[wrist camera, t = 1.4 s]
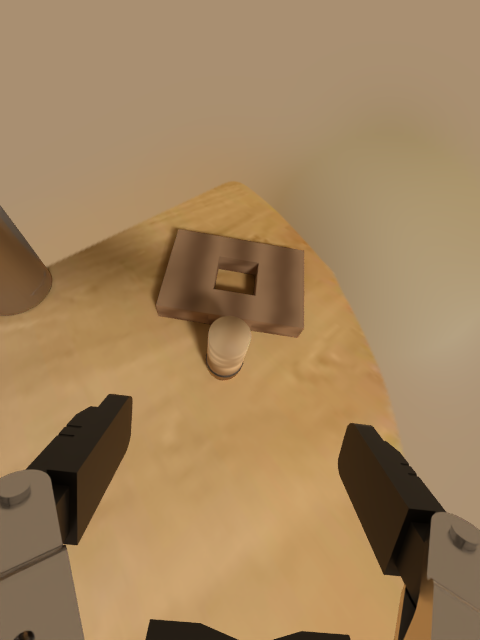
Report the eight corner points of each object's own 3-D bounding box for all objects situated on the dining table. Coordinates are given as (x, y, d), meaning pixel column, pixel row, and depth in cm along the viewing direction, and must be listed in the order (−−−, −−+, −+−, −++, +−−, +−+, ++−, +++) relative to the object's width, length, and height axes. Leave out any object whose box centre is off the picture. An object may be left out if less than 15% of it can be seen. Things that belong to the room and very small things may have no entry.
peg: (202, 381, 37) (203, 352, 28) (208, 348, 39) (211, 311, 30) (238, 386, 37) (250, 359, 28) (242, 353, 39) (254, 318, 31)
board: (158, 316, 40) (155, 305, 38) (179, 242, 47) (178, 228, 45) (297, 337, 41) (303, 328, 39) (298, 262, 48) (304, 250, 46)
